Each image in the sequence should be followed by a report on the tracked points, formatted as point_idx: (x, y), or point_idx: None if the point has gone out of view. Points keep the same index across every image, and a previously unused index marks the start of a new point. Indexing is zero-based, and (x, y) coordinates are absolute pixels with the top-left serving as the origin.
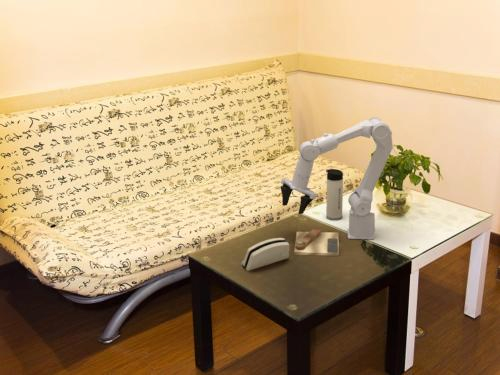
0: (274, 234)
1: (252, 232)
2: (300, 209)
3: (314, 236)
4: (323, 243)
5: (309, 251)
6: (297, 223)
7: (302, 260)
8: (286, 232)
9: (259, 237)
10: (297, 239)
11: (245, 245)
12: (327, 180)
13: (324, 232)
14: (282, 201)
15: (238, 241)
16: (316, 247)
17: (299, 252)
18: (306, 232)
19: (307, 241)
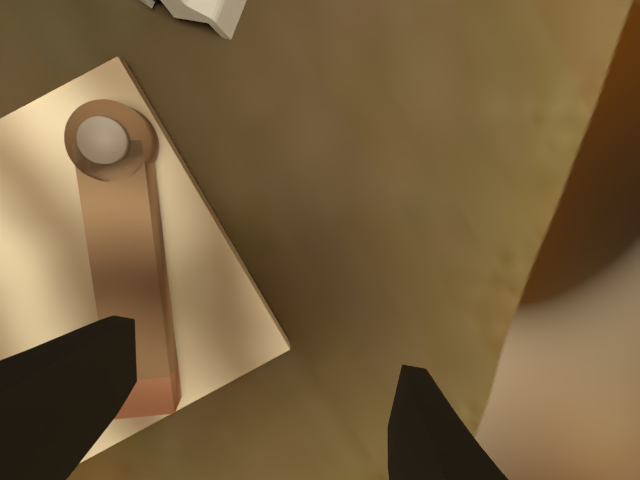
0: (412, 263)
1: (550, 213)
2: (53, 343)
3: (101, 315)
4: (22, 290)
5: (28, 124)
6: (368, 469)
7: (22, 11)
8: (360, 328)
9: (474, 173)
10: (218, 250)
11: (495, 16)
12: None
13: (121, 436)
14: (446, 399)
15: (566, 46)
16: (25, 208)
17: (84, 74)
18: (226, 373)
19: (80, 201)
